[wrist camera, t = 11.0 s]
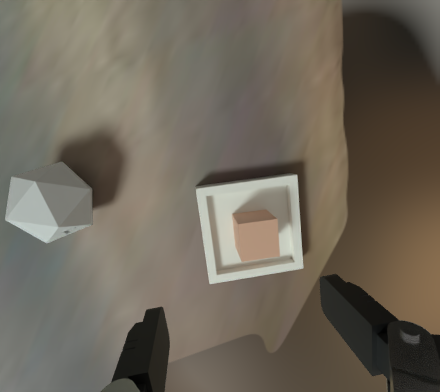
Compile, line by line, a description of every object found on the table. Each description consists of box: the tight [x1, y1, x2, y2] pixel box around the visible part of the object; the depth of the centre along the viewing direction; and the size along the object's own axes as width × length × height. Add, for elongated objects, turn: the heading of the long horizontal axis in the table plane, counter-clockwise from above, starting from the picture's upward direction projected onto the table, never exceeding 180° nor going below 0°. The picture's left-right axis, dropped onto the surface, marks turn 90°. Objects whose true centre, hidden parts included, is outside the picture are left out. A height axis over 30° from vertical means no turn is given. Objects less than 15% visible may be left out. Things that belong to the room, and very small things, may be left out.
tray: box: [196, 173, 303, 284], centre depth 36 cm, size 14×14×2 cm
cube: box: [232, 210, 280, 262], centre depth 33 cm, size 5×5×5 cm
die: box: [5, 162, 93, 243], centre depth 30 cm, size 8×9×10 cm
